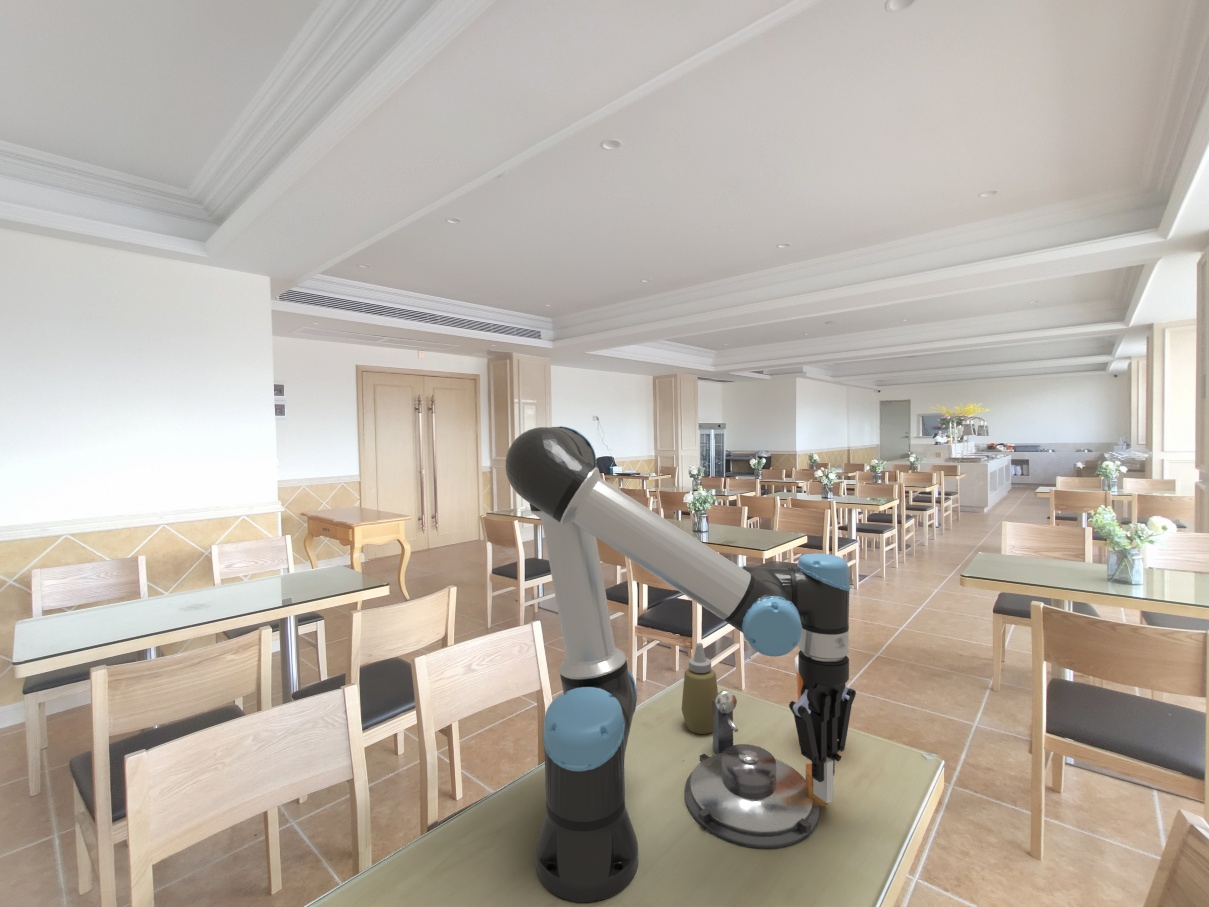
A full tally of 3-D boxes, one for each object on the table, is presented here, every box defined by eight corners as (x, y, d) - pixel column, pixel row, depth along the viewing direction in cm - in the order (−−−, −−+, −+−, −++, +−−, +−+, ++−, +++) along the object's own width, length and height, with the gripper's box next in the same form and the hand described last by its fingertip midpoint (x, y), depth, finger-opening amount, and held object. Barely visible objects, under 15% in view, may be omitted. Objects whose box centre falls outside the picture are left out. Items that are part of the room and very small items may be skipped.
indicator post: (726, 773, 102) (725, 704, 101) (710, 749, 110) (709, 684, 109) (746, 770, 102) (745, 702, 102) (729, 746, 110) (728, 682, 110)
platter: (840, 844, 82) (840, 811, 82) (688, 828, 86) (688, 797, 86) (814, 763, 102) (814, 737, 102) (692, 753, 106) (691, 728, 106)
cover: (779, 802, 90) (778, 774, 90) (722, 796, 92) (722, 769, 92) (773, 768, 99) (773, 743, 99) (721, 763, 101) (721, 738, 100)
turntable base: (693, 849, 84) (693, 842, 84) (678, 761, 106) (678, 756, 106) (841, 849, 83) (841, 842, 83) (794, 760, 105) (794, 755, 105)
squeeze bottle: (692, 713, 123) (691, 634, 122) (726, 724, 118) (725, 641, 118) (674, 730, 117) (673, 646, 116) (710, 742, 112) (709, 654, 111)
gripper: (813, 670, 82) (813, 825, 83) (871, 652, 88) (870, 797, 89) (775, 652, 88) (776, 796, 89) (831, 637, 94) (831, 772, 95)
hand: (823, 797), depth 89 cm, fingers closed
